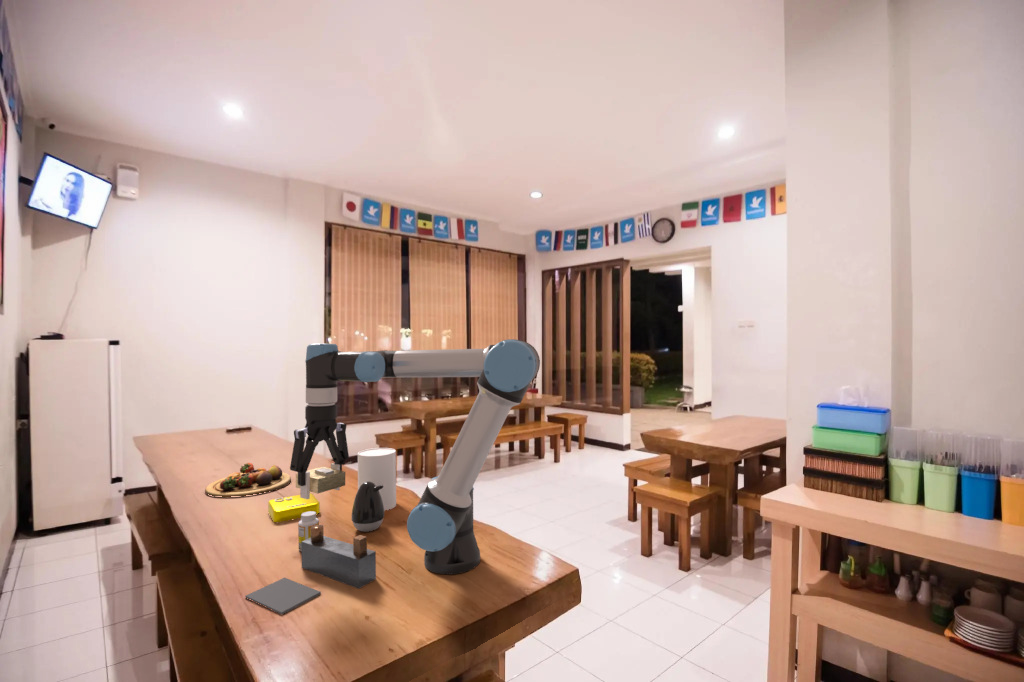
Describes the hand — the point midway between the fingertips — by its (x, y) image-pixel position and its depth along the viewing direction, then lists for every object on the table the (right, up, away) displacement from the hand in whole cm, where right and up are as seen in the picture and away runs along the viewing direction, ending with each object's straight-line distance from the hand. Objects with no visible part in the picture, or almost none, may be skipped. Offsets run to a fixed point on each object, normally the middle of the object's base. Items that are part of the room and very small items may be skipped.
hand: (320, 493), depth 120 cm
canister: (-1, -22, +54) cm, 59 cm away
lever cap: (0, +2, 0) cm, 2 cm away
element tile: (-29, -23, +48) cm, 61 cm away
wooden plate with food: (-63, -24, +81) cm, 106 cm away
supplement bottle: (-11, -22, +18) cm, 31 cm away
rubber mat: (-5, -22, -8) cm, 24 cm away
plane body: (+3, -22, +3) cm, 22 cm away
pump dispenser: (+2, -22, +32) cm, 39 cm away
